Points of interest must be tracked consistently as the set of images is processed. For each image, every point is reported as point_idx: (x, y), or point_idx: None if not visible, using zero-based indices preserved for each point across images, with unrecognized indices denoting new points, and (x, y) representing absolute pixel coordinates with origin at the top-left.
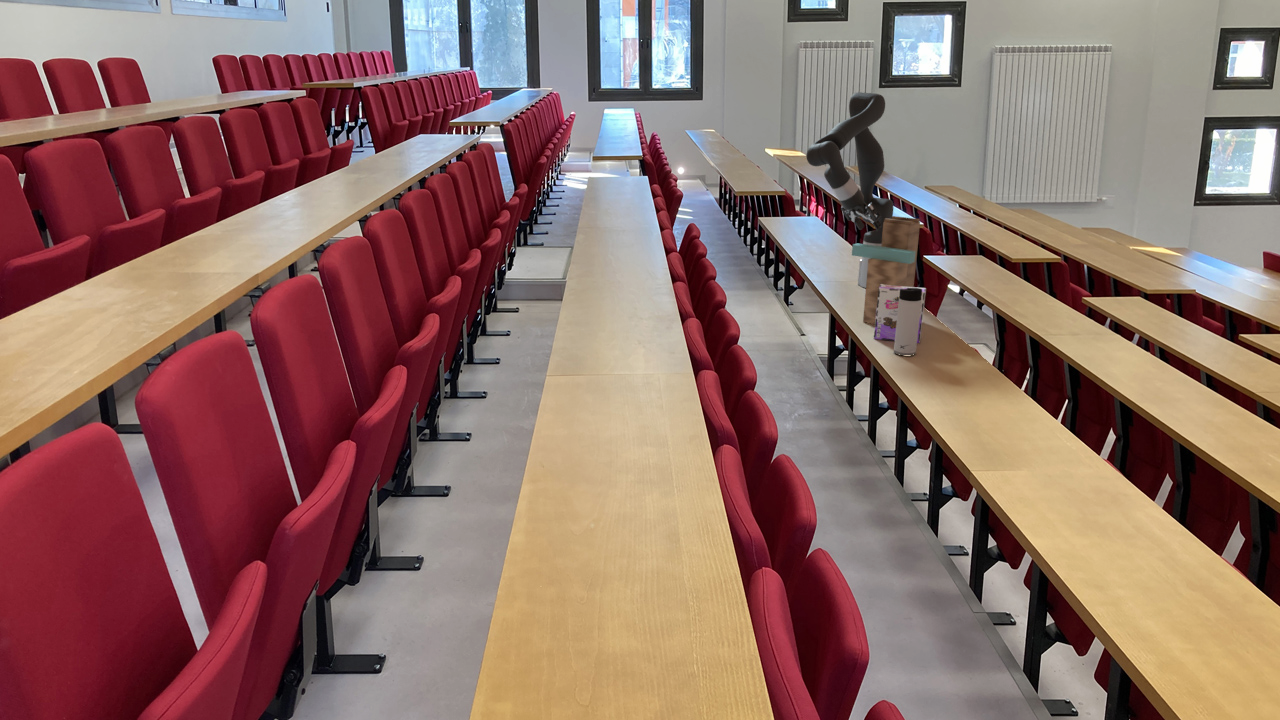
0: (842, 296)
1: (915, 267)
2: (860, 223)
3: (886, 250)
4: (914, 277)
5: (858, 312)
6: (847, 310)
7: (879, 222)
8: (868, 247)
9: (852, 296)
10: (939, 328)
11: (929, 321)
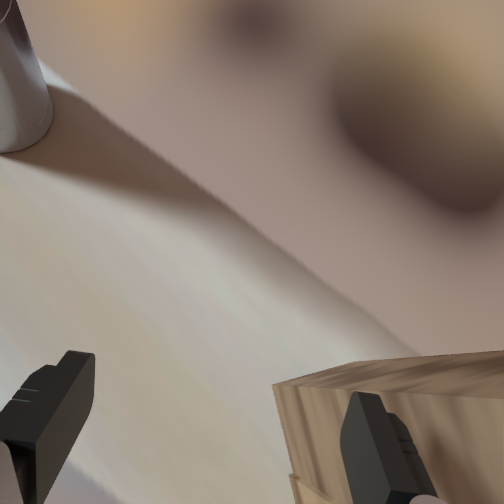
0: (11, 326)
1: (473, 353)
2: (69, 419)
3: None
4: (439, 355)
5: (213, 473)
6: (167, 489)
7: (421, 469)
8: None
9: (42, 294)
10: None
11: (414, 355)
